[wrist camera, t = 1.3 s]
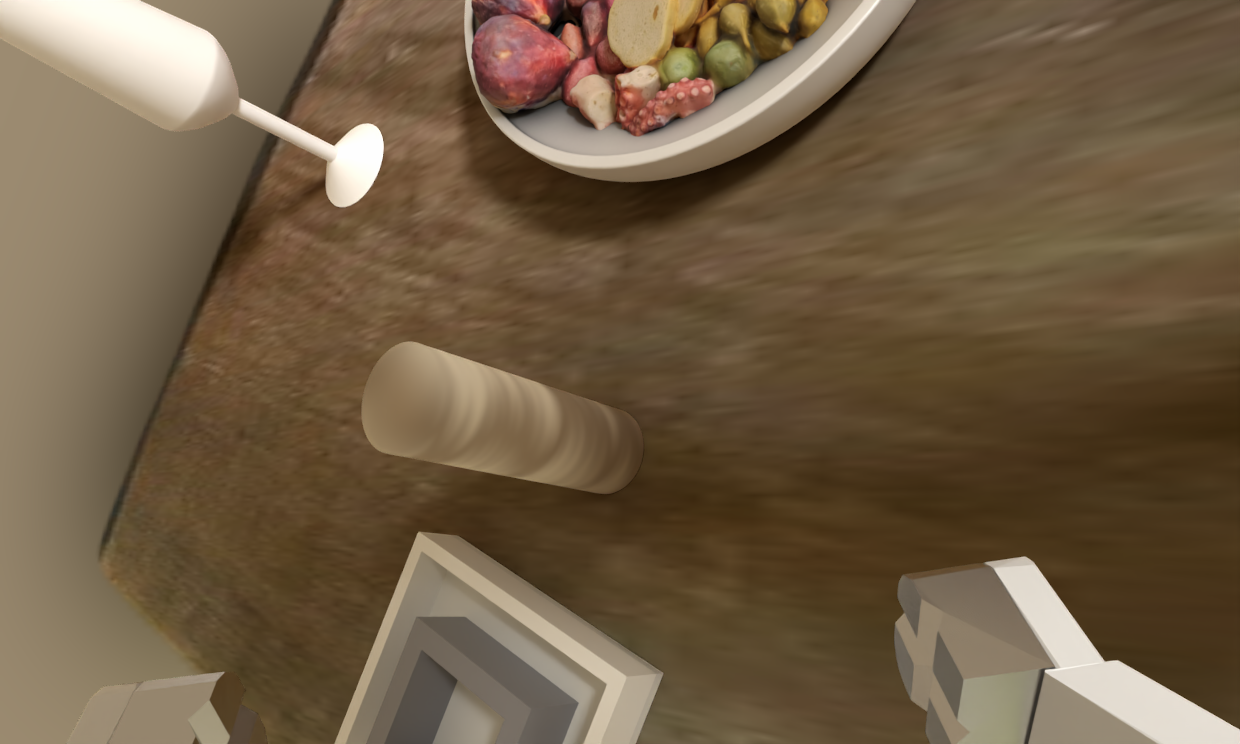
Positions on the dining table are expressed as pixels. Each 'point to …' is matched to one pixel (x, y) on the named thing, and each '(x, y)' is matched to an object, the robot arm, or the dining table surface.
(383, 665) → the tray
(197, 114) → the champagne flute
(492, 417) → the peg
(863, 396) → the dining table surface
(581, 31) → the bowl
